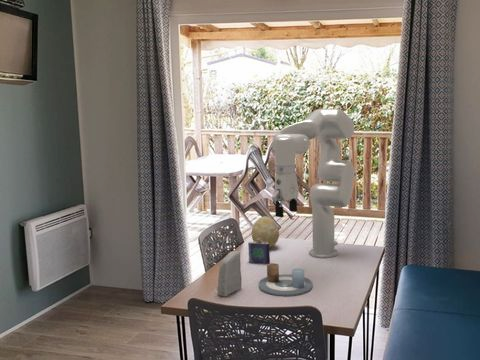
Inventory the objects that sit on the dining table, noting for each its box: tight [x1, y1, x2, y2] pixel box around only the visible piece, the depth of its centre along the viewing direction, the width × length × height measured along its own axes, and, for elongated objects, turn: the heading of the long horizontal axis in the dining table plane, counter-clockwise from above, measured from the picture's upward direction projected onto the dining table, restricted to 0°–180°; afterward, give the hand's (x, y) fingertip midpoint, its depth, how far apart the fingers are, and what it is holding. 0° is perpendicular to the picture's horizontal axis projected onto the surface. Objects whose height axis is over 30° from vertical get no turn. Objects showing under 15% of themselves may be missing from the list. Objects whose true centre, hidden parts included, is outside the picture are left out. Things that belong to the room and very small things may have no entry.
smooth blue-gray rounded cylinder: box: [291, 268, 305, 288], centre depth 192 cm, size 4×4×6 cm
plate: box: [258, 273, 314, 297], centre depth 196 cm, size 20×20×1 cm
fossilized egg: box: [251, 215, 280, 249], centre depth 244 cm, size 13×13×15 cm
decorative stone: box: [216, 250, 242, 297], centre depth 191 cm, size 11×6×15 cm, turn 148°
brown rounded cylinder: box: [266, 262, 280, 282], centre depth 199 cm, size 4×4×6 cm
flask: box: [247, 238, 271, 265], centre depth 223 cm, size 9×3×11 cm, turn 71°
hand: (286, 213), depth 200 cm, fingers open, 9 cm apart
